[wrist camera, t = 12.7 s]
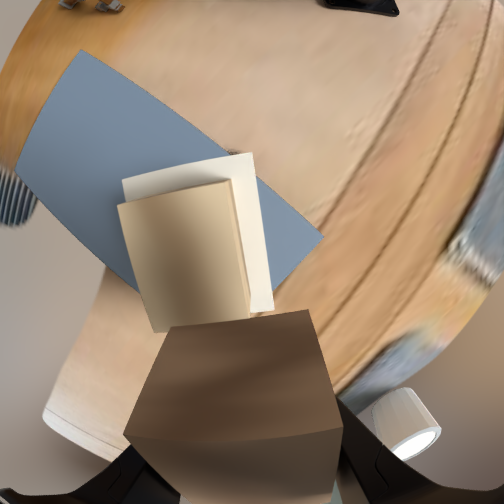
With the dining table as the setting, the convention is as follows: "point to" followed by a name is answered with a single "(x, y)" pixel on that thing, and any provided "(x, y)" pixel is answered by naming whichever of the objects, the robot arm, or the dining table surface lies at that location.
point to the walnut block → (241, 413)
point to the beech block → (188, 255)
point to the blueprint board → (147, 173)
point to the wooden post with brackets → (105, 3)
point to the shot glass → (404, 423)
